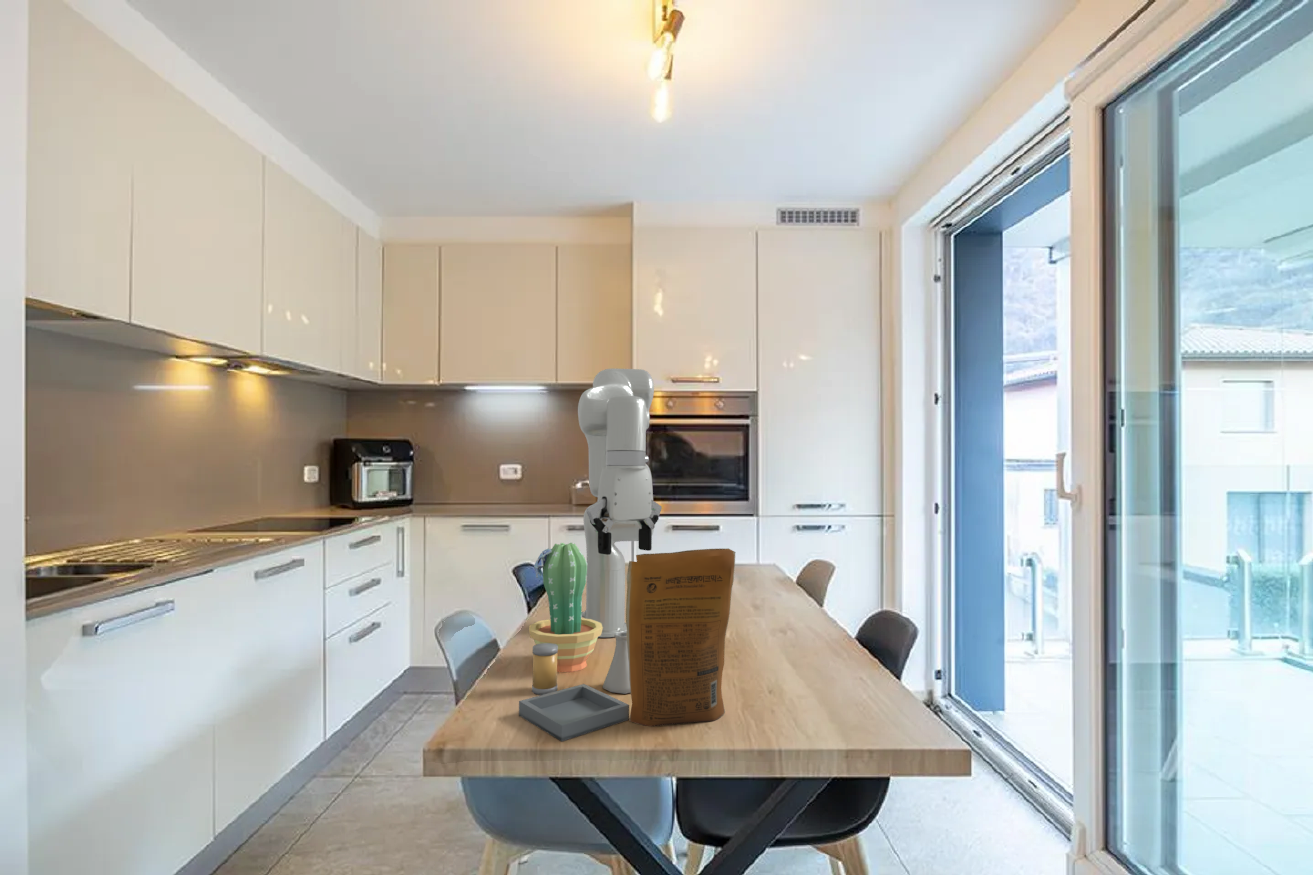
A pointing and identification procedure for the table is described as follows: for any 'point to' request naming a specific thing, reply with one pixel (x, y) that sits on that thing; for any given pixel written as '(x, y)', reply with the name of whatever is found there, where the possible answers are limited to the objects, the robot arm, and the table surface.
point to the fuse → (544, 668)
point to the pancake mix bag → (678, 634)
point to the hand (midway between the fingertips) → (625, 551)
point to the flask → (619, 667)
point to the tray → (573, 711)
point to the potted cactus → (565, 607)
